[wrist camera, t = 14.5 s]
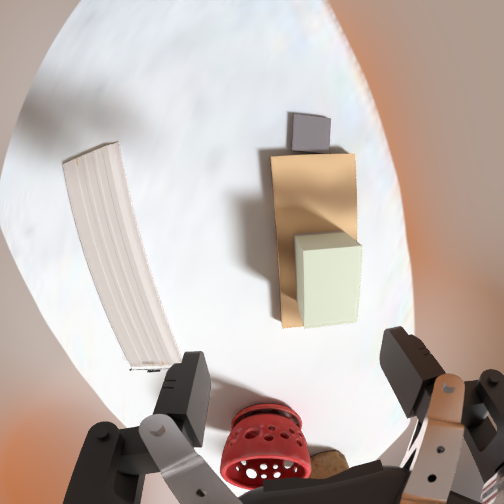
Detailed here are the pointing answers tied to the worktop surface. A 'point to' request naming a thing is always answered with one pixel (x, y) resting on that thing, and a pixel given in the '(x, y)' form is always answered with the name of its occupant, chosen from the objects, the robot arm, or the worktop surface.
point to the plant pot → (264, 446)
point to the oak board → (309, 211)
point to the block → (327, 464)
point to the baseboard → (119, 257)
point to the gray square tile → (311, 134)
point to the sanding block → (327, 277)
